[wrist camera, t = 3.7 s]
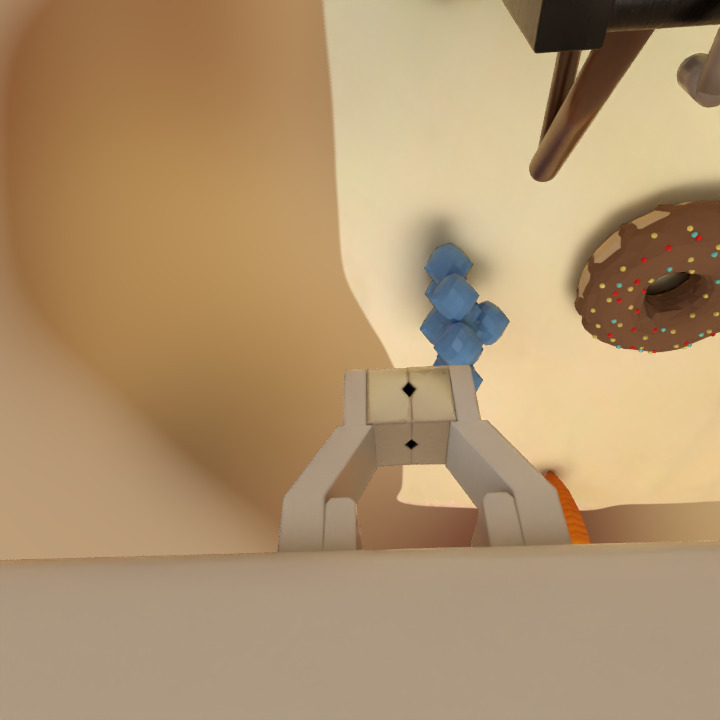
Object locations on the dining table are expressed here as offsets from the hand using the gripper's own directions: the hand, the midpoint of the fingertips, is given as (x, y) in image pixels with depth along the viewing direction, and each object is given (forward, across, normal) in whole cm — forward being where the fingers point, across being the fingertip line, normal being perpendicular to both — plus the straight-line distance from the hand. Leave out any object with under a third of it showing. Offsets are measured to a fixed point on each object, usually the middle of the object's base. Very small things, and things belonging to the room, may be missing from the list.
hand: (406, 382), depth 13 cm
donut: (+26, -22, +17) cm, 38 cm away
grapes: (+26, -6, +18) cm, 32 cm away
